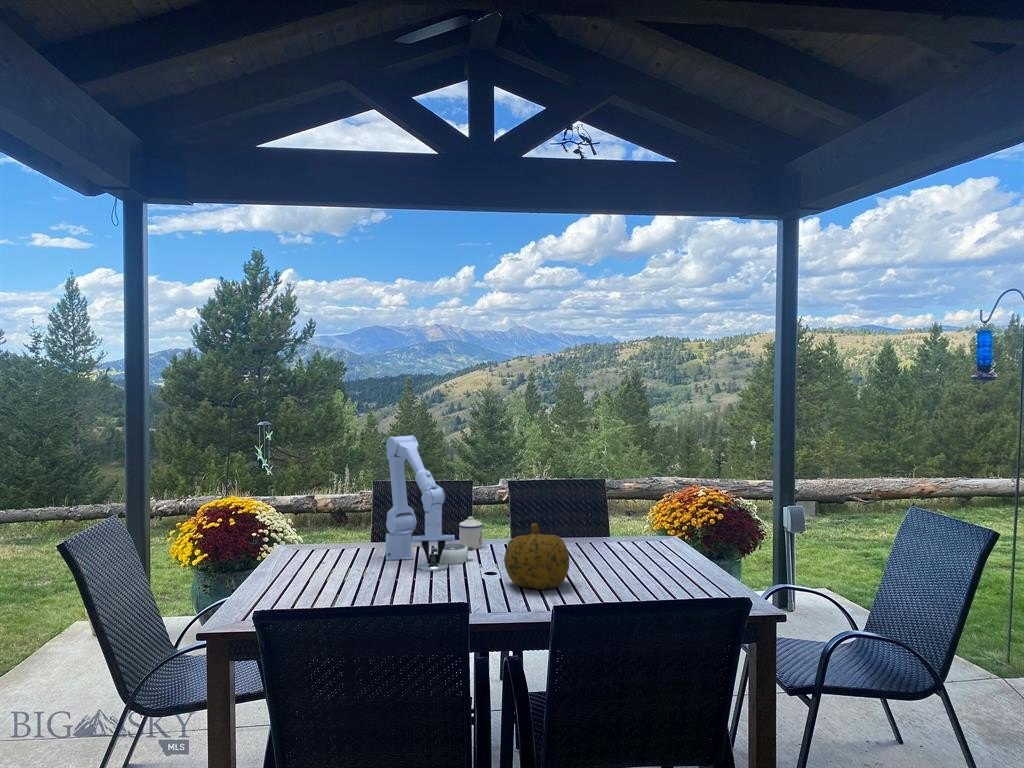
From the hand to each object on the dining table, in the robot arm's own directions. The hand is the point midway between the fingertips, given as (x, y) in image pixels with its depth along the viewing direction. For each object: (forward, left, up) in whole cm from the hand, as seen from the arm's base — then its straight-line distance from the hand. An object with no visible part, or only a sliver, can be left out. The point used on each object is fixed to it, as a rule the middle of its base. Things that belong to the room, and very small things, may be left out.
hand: (433, 563), depth 250 cm
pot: (+7, +9, -2) cm, 12 cm away
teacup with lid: (+15, +30, -2) cm, 34 cm away
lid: (0, 0, -2) cm, 2 cm away
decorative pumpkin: (+32, -26, -2) cm, 41 cm away
